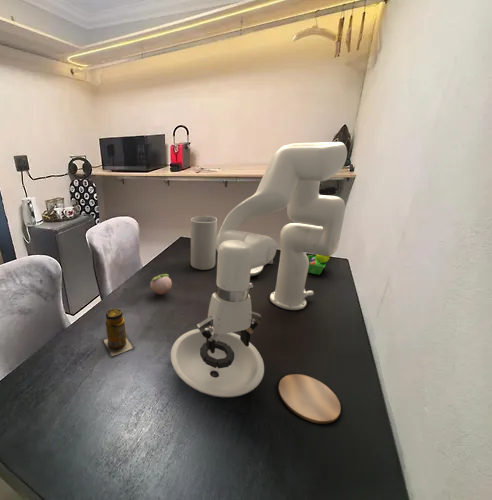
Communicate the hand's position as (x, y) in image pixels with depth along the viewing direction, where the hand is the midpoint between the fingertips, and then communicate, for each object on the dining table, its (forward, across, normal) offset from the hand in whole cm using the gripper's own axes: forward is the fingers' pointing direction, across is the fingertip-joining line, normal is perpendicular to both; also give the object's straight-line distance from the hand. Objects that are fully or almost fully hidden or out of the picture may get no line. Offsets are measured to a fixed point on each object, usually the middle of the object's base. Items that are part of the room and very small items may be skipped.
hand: (227, 346), depth 70 cm
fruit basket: (+10, -70, -45) cm, 83 cm away
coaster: (+9, -16, +12) cm, 22 cm away
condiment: (+10, +28, -19) cm, 35 cm away
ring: (+3, +3, 0) cm, 4 cm away
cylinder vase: (+10, -22, -67) cm, 71 cm away
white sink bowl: (+10, +3, 0) cm, 10 cm away
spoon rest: (+10, -44, -54) cm, 70 cm away
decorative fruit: (+10, +6, -45) cm, 46 cm away
